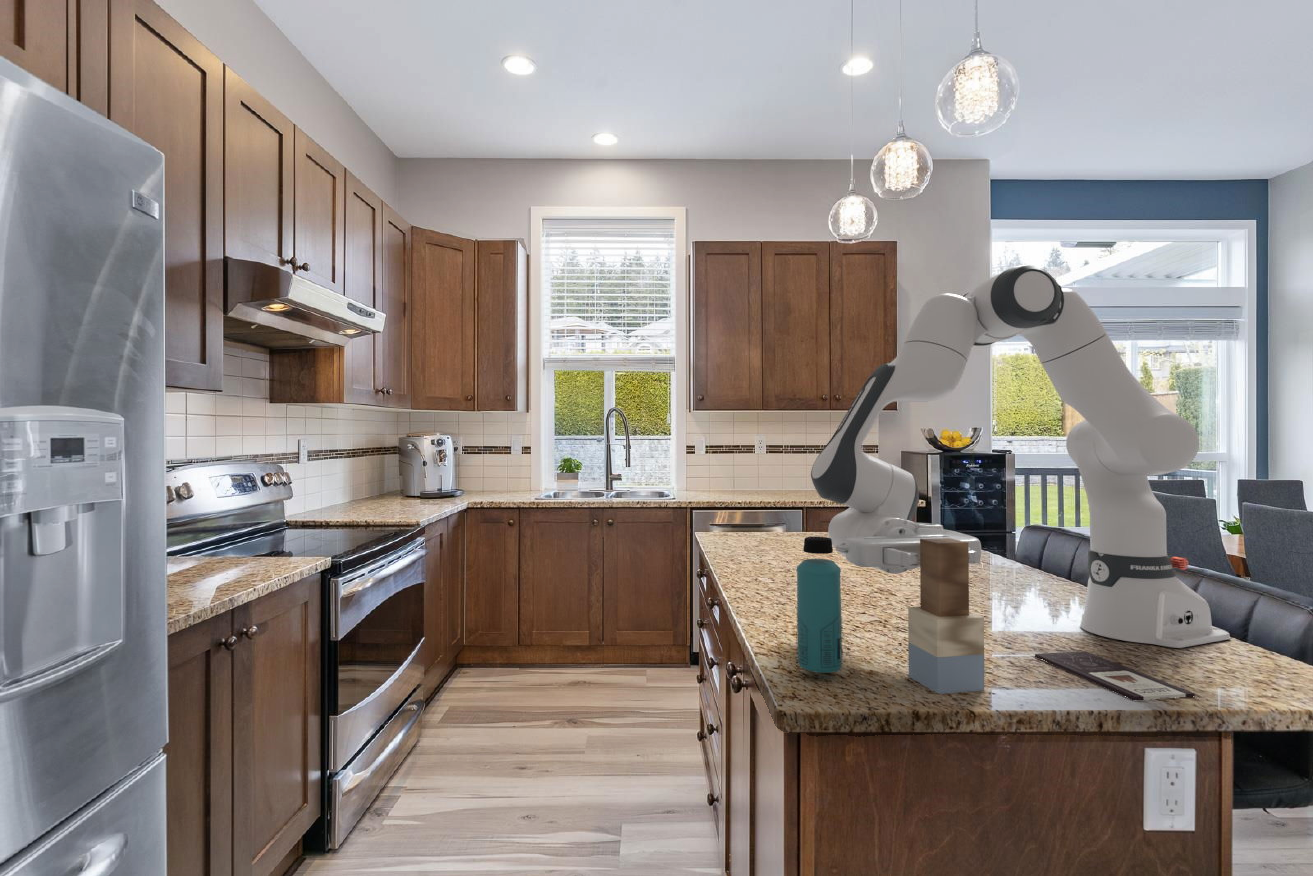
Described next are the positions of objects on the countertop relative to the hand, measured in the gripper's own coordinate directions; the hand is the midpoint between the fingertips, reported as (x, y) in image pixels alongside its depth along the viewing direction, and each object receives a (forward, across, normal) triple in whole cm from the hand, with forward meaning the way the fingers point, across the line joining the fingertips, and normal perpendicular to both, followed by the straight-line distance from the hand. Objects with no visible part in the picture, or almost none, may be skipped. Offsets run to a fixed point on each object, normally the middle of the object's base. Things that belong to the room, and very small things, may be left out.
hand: (943, 559), depth 93 cm
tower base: (0, 0, +17) cm, 17 cm away
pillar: (0, 0, +7) cm, 7 cm away
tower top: (0, 0, +12) cm, 12 cm away
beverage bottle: (-6, -16, +18) cm, 24 cm away
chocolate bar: (+2, +25, +18) cm, 31 cm away
